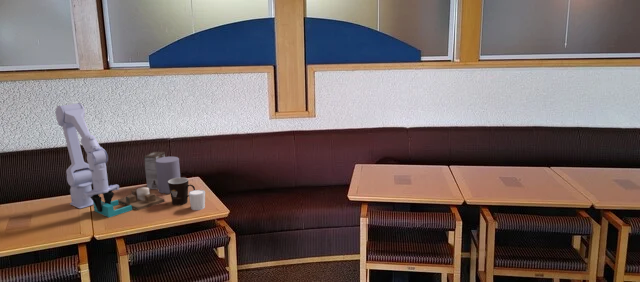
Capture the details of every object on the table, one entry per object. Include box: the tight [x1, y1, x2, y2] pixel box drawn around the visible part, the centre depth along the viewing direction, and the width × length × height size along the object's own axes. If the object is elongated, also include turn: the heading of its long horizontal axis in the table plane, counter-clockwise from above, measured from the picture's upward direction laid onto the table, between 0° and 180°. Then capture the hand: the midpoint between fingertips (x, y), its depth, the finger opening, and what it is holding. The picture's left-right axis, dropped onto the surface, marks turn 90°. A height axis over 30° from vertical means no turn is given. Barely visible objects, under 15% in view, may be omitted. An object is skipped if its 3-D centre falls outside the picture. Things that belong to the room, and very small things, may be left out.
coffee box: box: [143, 151, 166, 190], centre depth 249 cm, size 9×6×16 cm
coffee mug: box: [168, 177, 196, 206], centre depth 226 cm, size 12×9×10 cm
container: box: [156, 156, 181, 195], centre depth 243 cm, size 10×10×15 cm
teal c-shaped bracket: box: [93, 199, 133, 218], centre depth 220 cm, size 10×12×4 cm
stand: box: [117, 186, 165, 211], centre depth 230 cm, size 13×16×6 cm
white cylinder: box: [188, 189, 206, 211], centre depth 221 cm, size 7×7×7 cm
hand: (103, 210), depth 217 cm, fingers open, 3 cm apart
